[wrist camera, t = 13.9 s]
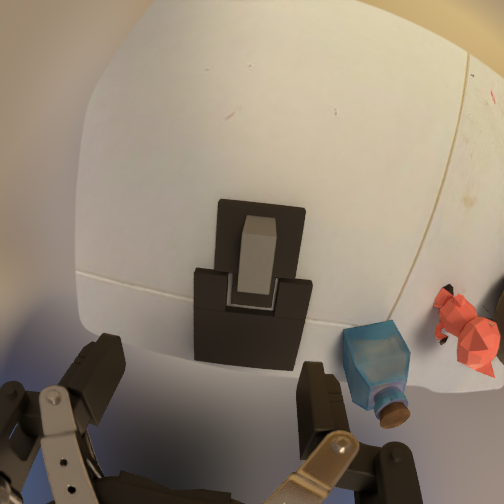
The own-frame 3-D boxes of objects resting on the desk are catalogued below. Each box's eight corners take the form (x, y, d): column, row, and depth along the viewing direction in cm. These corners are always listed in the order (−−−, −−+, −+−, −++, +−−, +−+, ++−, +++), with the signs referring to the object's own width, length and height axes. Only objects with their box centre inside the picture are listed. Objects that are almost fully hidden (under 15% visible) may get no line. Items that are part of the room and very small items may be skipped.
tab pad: (214, 296, 32) (203, 332, 26) (220, 198, 28) (207, 216, 22) (288, 304, 32) (292, 341, 26) (304, 207, 28) (314, 228, 22)
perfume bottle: (343, 366, 35) (362, 442, 24) (343, 329, 33) (367, 407, 22) (388, 357, 35) (417, 427, 24) (392, 319, 32) (430, 391, 21)
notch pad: (196, 354, 36) (194, 360, 34) (196, 267, 31) (193, 272, 30) (292, 364, 35) (293, 371, 34) (311, 280, 31) (313, 285, 30)
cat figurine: (470, 305, 31) (518, 360, 20) (431, 336, 33) (470, 399, 22) (456, 268, 30) (514, 322, 18) (413, 302, 31) (459, 369, 20)
